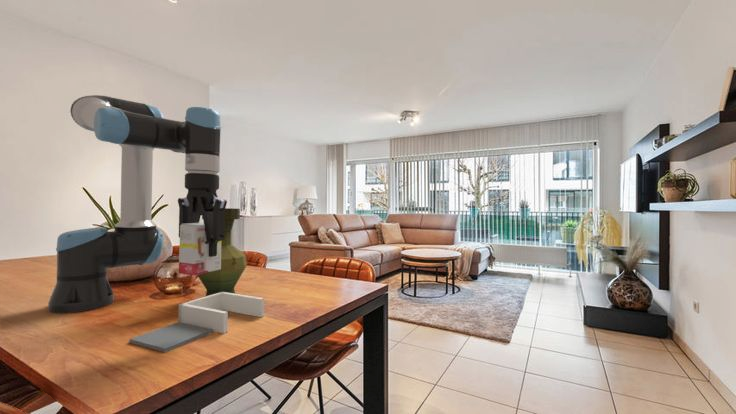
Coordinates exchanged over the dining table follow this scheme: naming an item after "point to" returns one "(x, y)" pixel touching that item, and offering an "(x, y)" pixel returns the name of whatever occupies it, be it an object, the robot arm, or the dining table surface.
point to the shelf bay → (218, 310)
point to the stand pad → (170, 336)
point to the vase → (226, 261)
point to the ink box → (194, 249)
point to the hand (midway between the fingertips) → (200, 268)
